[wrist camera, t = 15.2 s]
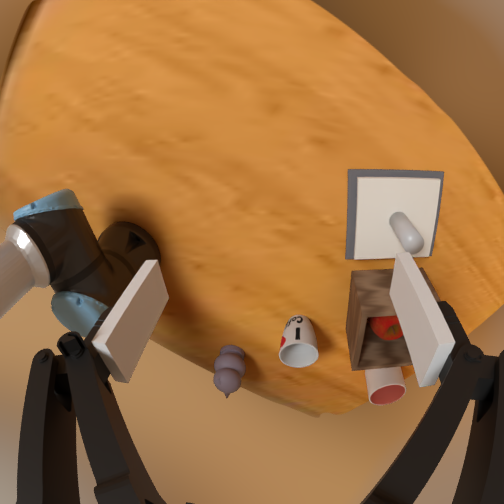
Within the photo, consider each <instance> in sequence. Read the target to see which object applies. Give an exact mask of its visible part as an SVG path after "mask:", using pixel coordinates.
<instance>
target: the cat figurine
mask: <svg viewBox="0 0 504 504" xmlns="http://www.w3.org/2000/svg"><path fill="white" fill-rule="evenodd" d="M244 355H245V354H244V351H243V350H242V349H241V348H239V347H237V346H233V345H227V346H224V347H222V349H221V351H220V356H218V357H217V358H216V360H215V362H214V368H215V371H216V373H215V375H214V384H215V386H216V387H217V388H218V389H219V390H220V391H222V392H224V393H225V396H226V398H228V396H229V394H230V393H233V392H235V391H237V390H238V389H239V387H240V385H241V378H242V377H243V375H244V374H245V371H246V366H245V363H244Z"/></svg>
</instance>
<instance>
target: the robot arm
mask: <svg viewBox="0 0 504 504" xmlns="http://www.w3.org/2000/svg"><path fill="white" fill-rule="evenodd" d="M13 215H14V220H15V221H16V222H14V223H13V224H11V225H10V226H9V227H8V229H7V233H6V238H5V241H4V242H3V243H2V244H0V319H1V318H2V316H4V314H6V312H7V311H9V310H10V309H11V308H12V307H13V306H14V305H15V304H16V303H17V302H18V301H19V300H20V299H21V298H22V297H23V296H24V295H25V294H26V293H27V292H28V291H29V290H30V289H31V288H32V287H34V286H35V287H41V288H45V287H47V286H49V285H51V287H52V288H53V290H54V292H55V294H54V295H53V298H52V301H51V305H52V311H53V313H54V315H55V316H56V318H57V319H58V320H59V321H60V322H61V323H62V324H63V325H64V326H65V327H66V328H68V329H69V330H70V331H71V332H68V333H66V334H64V335H63V336H62V337H60V339H59V341H58V342H57V347H58V349H59V350H60V352H61V353H62V355H58V356H57V355H56V356H55V355H54V353H53V352H52V350H50V349H43V350H40V351H39V352H38V353H37V354H36V355H35V356H34V358H33V361H32V365H31V370H30V375H29V380H28V385H27V390H26V396H25V402H24V408H23V415H22V423H21V431H20V441H19V453H18V473H17V502H16V504H80V497H79V487H78V474H77V455H76V417H77V420H78V425H79V428H80V432H81V436H82V439H83V443H84V446H85V449H86V453H87V456H88V459H89V462H90V465H91V468H92V471H93V474H94V477H95V479H96V483H97V486H96V487H94V493H95V496H96V499H97V502H98V504H166V502H165V501H164V500H163V499H162V498H161V496H160V495H159V493H158V492H157V490H156V488H155V486H154V484H153V483H152V480H151V479H150V477H149V475H148V473H147V471H146V469H145V467H144V465H143V462H142V460H141V458H140V456H139V454H138V452H137V450H136V447H135V445H134V443H133V441H132V439H131V436H130V434H129V432H128V429H127V427H126V424H125V422H124V419H123V417H122V414H121V412H120V410H119V406H118V404H117V401H116V398H115V396H114V393H113V390H112V387H111V384H110V383H109V381H108V377H109V375H110V374H111V375H112V377H113V378H114V380H115V381H118V382H124V383H129V381H130V378H131V376H132V374H133V372H134V370H135V367H136V365H137V363H138V361H139V359H140V357H141V355H142V353H143V350H144V348H145V346H146V344H147V342H148V340H149V338H150V336H151V334H152V332H153V330H154V328H155V326H156V324H157V322H158V319H159V317H160V315H161V313H162V311H163V309H164V307H165V305H166V303H167V301H168V299H169V296H168V293H167V289H166V286H165V283H164V280H163V276H162V273H161V270H160V262H161V258H160V252H159V249H158V246H157V244H156V243H155V241H154V240H153V238H152V237H151V236H150V235H149V234H148V233H147V232H146V231H145V230H144V229H142V228H141V227H139V226H137V225H135V224H132V223H129V222H117V223H114V224H112V225H110V226H109V227H107V228H106V229H105V230H104V231H103V232H102V233H101V235H100V236H99V238H98V241H97V239H96V237H95V235H94V233H93V231H92V229H91V227H90V225H89V223H88V221H87V218H86V216H85V214H84V212H83V207H82V206H81V205H80V203H79V201H78V199H77V197H76V195H75V193H74V192H73V191H72V190H69V189H63V190H60V191H58V192H55V193H53V194H50V195H48V196H46V197H43V198H41V199H39V200H37V201H35V202H33V203H31V204H29V205H26V206H24V207H22V208H20V209H18V210H16V211H15V212H14V214H13ZM389 294H390V297H391V300H392V303H393V305H394V308H395V311H396V314H397V317H398V319H399V322H400V325H401V328H402V331H403V334H404V337H405V341H406V344H407V347H408V350H409V353H410V356H411V360H412V363H413V367H414V370H415V373H416V377H417V380H418V384H419V387H425V386H431V385H435V383H436V381H437V379H438V377H439V378H440V381H441V386H440V387H439V389H438V391H437V392H436V394H435V396H434V398H433V400H432V402H431V404H430V406H429V407H428V409H427V411H426V412H425V414H424V416H423V418H422V419H421V421H420V422H419V424H418V426H417V427H416V429H415V431H414V432H413V434H412V435H411V437H410V438H409V440H408V441H407V443H406V445H405V446H404V447H403V449H402V450H401V452H400V453H399V455H398V456H397V458H396V459H395V460H394V462H393V463H392V464H391V466H390V467H389V469H388V470H387V471H386V473H385V474H384V475H383V477H382V478H381V479H380V481H379V482H378V483H377V484H376V486H375V487H374V488H373V489H372V490H371V492H370V493H369V494H368V495H367V496H366V498H365V499H364V500H363V501H362V502H361V503H360V504H413V503H414V501H415V500H416V498H417V497H418V495H419V494H420V492H421V491H422V489H423V488H424V486H425V485H426V483H427V482H428V480H429V478H430V477H431V475H432V473H433V472H434V470H435V468H436V467H437V465H438V463H439V462H440V460H441V458H442V456H443V454H444V453H445V451H446V449H447V447H448V445H449V443H450V441H451V439H452V437H453V436H454V433H455V431H456V429H457V427H458V425H459V423H460V421H461V419H462V417H463V414H464V412H465V410H466V408H467V405H468V403H469V401H470V399H472V400H475V407H474V414H473V420H472V426H471V432H470V437H469V442H468V447H467V451H466V456H465V460H464V464H463V468H462V472H461V476H460V479H459V483H458V486H457V489H456V493H455V496H454V499H453V502H452V504H504V350H503V351H502V352H501V353H500V355H499V357H496V356H488V355H484V354H483V352H482V351H481V349H480V348H478V347H477V346H475V345H471V344H470V341H469V339H468V337H467V335H466V333H465V331H464V329H463V327H462V325H461V323H460V321H459V319H458V317H456V313H455V311H454V310H453V308H452V307H451V306H450V305H449V304H448V303H447V302H446V301H439V302H436V300H435V298H434V297H433V295H432V293H431V291H430V289H429V287H428V285H427V283H426V281H425V280H424V278H423V276H422V274H421V272H420V270H419V269H418V267H417V265H416V263H415V262H414V260H413V258H412V256H411V255H410V253H409V252H403V253H396V258H395V265H394V271H393V277H392V282H391V288H390V293H389ZM81 336H82V337H86V338H85V340H84V341H83V339H82V337H81ZM186 504H192V503H186Z"/></svg>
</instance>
